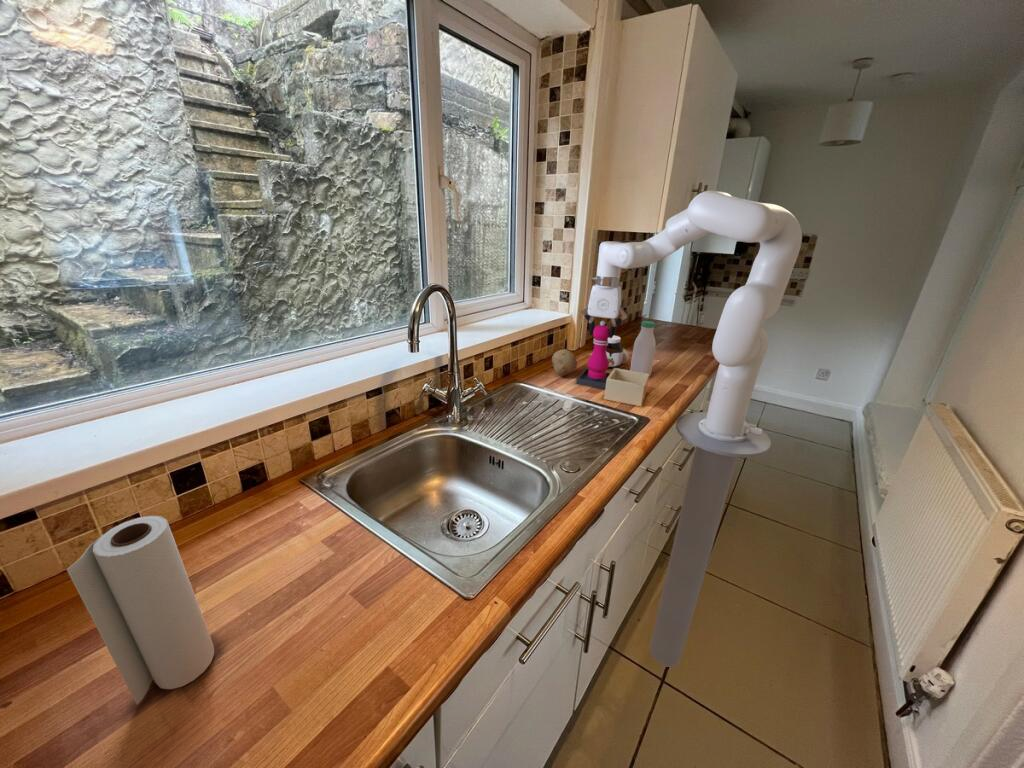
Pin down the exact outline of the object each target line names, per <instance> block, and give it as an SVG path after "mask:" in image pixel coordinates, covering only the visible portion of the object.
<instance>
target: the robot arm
mask: <svg viewBox="0 0 1024 768" xmlns="http://www.w3.org/2000/svg"><path fill="white" fill-rule="evenodd" d="M709 234H715V235H718V236H722V237H725V238H729V239H731V240H735V241H738V242H743V243H750V244H751V243H759V250H758V252H757V254H756V256H755V258H754V261H753V263H752V265H751V270H750V273H749V276H748V277H747V281H746V282H745V285H742V286H740V287H738V288H736V289H735V290H734V291H733V292H731V294H730V295H729V297H728V298H727V300H726V302H725V304H724V307H723V310H722V312H721V315H720V319H719V321H718V325H717V328H716V331H715V334H714V336H713V340H712V346H711V350H712V355H713V358H714V359H715V360H716V361H717V362H718V363H719V365H718V368H717V371H716V376H715V379H714V383H713V388H712V391H711V396H710V400H709V405H708V409H707V411H706V412H707V417H706V419H703V420H701V421H700V422H699V425H698V427H699V429H700V431H701V432H702V433H704V434H705V435H707V436H709V437H711V438H714V439H717V440H720V441H725V442H741V441H743V440H745V439H746V437H747V434H748V433H752V434H755V435H760V436H761V434H762V431H763V428H760V427H757V424H753V423H750V424H747V421H746V417H747V413H748V409H749V407H750V403H751V398H752V395H753V392H754V388H755V385H756V382H757V378H758V375H759V371H760V369H761V366H762V363H763V361H764V358H765V356H766V353H767V351H768V346H769V336H768V333H767V331H766V330H765V329H764V325H765V323H766V320H768V319H770V318H771V317H772V316H774V315H775V314H776V313H777V312H778V310H779V309H780V307H781V304H782V300H783V298H784V294H785V292H786V289H787V287H788V284H789V283H790V278H791V276H792V273H793V270H794V267H795V264H796V263H797V259H798V257H799V255H800V254H799V253H800V250H801V246H802V242H803V241H802V240H803V232H802V227H801V224H800V222H799V220H798V219H797V217H796V216H795V215H794V214H793V213H791V211H789V210H788V209H786V208H785V207H783V206H781V205H778V204H775V203H767V202H766V203H765V202H757V201H754V200H749V199H745V198H741V197H738V196H737V197H736V196H732V195H731V194H729V193H728V192H724V191H720V190H719V191H718V190H713V189H712V190H704V191H702V192H699V193H698V194H697V195H696V196H694V197H693V198H692V200H691V201H690V203H689V204H688V206H687V208H685V209H684V210H682V211H679V212H678V213H677V214H674V215H673V216H670V218H668V219H667V220H666V221H665V227H664V229H662V230H661V231H660V232H658V233H657V234H655V235H653V236H652V237H649V238H648V239H646V240H643V241H633V242H630V241H629V242H621V241H613V240H612V241H611V240H610V241H609V240H608V241H607V240H606V241H602V242H601V243H600V244H599V248H598V255H597V266H596V275H594V276H592V277H591V282H594V284H593V285H592V287H591V290H590V294H589V299H588V304H587V305H586V306H585V307H584V308H583V309H582V310H580V313H581V314H582V316H583V317H584V318H585V319H586V321H587V323H588V332H589V336H593V330H594V328H595V327H596V322H595V320H596V318H604V319H610V321H611V322H610V323H611V325H610V327H609V328H610V335H609V338H612V337H613V335H615V336H616V332H617V331H616V330H617V326H618V325H620V324H621V323H622V322H623V321H625V320H626V319H627V318H628V314H627V313H626V311H625V310H624V308H622V287H621V286H620V281H621V273H622V269H625V270H629V269H635V268H637V269H638V268H644V267H648V266H651V265H653V264H654V263H657V262H658V261H660V260H663V259H665V258H667V257H669V256H671V255H672V254H674V253H676V252H677V251H679V250H680V249H681V248H682V247H685V246H687V245H688V244H690V243H692V242H694V241H697V240H699V239H701V238H703V237H705V236H707V235H709ZM619 316H621V317H619ZM618 317H619V318H618ZM617 318H618V319H617ZM756 427H757V428H756Z"/></svg>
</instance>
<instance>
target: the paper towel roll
mask: <svg viewBox="0 0 1024 768" xmlns="http://www.w3.org/2000/svg"><path fill="white" fill-rule="evenodd" d="M65 570H66V571H67V574H68V576H69V577H70V579H71V581H72V583H73V585H74V587H75V589H76V591H77V594H78V595H79V596H80V598H81V601H82V603H83V605H84V606H85V608H86V611H87V612H88V614H89V616H90V618H91V620H92V622H93V623H94V625H95V627H96V629H97V631H98V633H99V635H100V637H101V639H102V641H103V642H104V645H105V647H106V648H107V651H108V653H109V655H110V656H111V658H112V660H113V662H114V664H115V666H116V668H117V669H118V671H119V674H120V676H121V677H122V679H123V681H124V683H125V685H126V687H127V689H128V691H129V693H130V695H131V696H132V698H133V700H134V702H135V704H136V705H139V704H140V703H141V701H142V700H143V699H144V697H145V695H146V694H147V692H149V689H150V686H151V683H152V681H154V683H155V684H156V685H157V686H158V687H159V689H162V690H163V689H164V690H174V689H179V688H182V687H184V686H186V685H188V684H189V683H192V682H194V681H195V680H196V679H197V678H199V676H201V675H202V674H203V673H204V672H205V671H206V670H207V668H208V667H209V666H210V665H211V664H212V661H213V658H214V656H215V646H214V642H213V640H212V637H211V635H210V632H209V630H208V627H207V624H206V621H205V619H204V616H203V613H202V611H201V607H200V605H199V602H198V600H197V596H196V595H195V592H194V589H193V586H192V583H191V580H190V579H189V575H188V573H187V569H186V568H185V565H184V562H183V559H182V557H181V554H180V552H179V548H178V546H177V543H176V541H175V537H174V535H173V532H172V530H171V527H170V524H169V521H168V519H166V518H164V517H163V516H159V515H146V516H140V517H136V518H133V519H130V520H127V521H124V522H122V523H120V524H118V525H116V526H114V527H112V528H110V529H109V530H108V531H106V532H104V533H103V534H102V535H100V536H99V537H98V538H97V539H96V540H94V541H93V542H92V543H91V544H89V545H88V546H87V548H86V549H85V550H84V552H83V553H82V554H81V556H80V557H79V558H77V560H76V561H75V562H73V563H72V564H71V565H70V566H68V567H67V568H66V569H65Z"/></svg>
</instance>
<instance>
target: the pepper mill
mask: <svg viewBox="0 0 1024 768" xmlns="http://www.w3.org/2000/svg"><path fill="white" fill-rule="evenodd" d="M609 335H610V327H609V326H608V325H606V321H605V320H601V321H600V322H599V324H598V325H595V328H594V330H593V335H592V336H593V341H592V343H593V344H594V345H593V350H592V353H591V355H590V356H589V358H588V361H587V367H588V369H589V371H588V376H589V377H590V378H593V379H604V378H605V377H606V373H607V370H609V369H608V367H609V362H608V358H607V355H606V345H607V344H608V338H609Z"/></svg>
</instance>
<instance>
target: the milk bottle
mask: <svg viewBox="0 0 1024 768" xmlns="http://www.w3.org/2000/svg"><path fill="white" fill-rule="evenodd" d="M655 326H656V322H655V321H650V320H643V321H641V325H640V328H641V329H640V332H639V333H638V335H637V337H636V338H635V340H634V342H633V343H634V344H633V348H632V354H631V361H630V368H629V370H630V371H635V372H641V373H647V374H650V375H649V377H650V376H651V375H652V372H653V365H654V360H655V354H656V347H657V345H656V339H655V335H654V334H655V333H654V330H655Z"/></svg>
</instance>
